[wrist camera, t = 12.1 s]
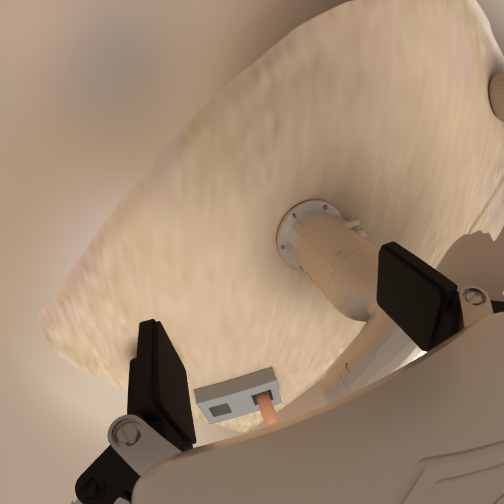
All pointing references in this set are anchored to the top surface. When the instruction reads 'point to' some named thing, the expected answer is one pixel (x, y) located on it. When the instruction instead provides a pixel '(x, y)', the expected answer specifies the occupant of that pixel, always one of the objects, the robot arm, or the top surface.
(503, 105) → the canister
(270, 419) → the peg
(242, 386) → the socket block
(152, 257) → the top surface
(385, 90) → the top surface
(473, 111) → the top surface
